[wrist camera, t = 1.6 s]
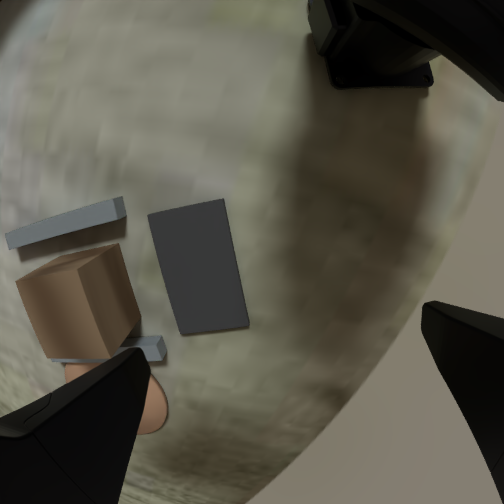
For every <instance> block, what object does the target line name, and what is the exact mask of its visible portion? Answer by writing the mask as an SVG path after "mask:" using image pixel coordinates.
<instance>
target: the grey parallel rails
mask: <svg viewBox="0 0 504 504" xmlns="http://www.w3.org/2000/svg"><path fill="white" fill-rule="evenodd" d="M125 216H126V212H125V207H124V203H123V198H122V196H121V197H117V198H114V199H110V200H107V201H103V202H100V203H96V204H93V205H89V206H86V207H83V208H80V209H76V210H73V211H70V212H67V213H64V214H60V215H57V216H54V217H51V218H48V219H45V220H42V221H39V222H36V223H34V224H31V225H28V226H25V227H22V228H19V229H17V230H14V231H11V232H9V233H6V234H5V237H6V241H7V244H8V248H9V250H11V249H14V248H17V247H20V246H24V245H27V244H30V243H34V242H37V241H40V240H44V239H47V238H51V237H54V236H58V235H61V234H65V233H69V232H72V231H76V230H80V229H83V228H87V227H91V226H95V225H99V224H103V223H106V222H110V221H114V220H118V219H121V218H123V217H125ZM131 347H140V348H141V349H142V350H143V352H144V354H145V356H146V359H147V361H162V360H163V358H164V356H165V354H166V352H167V349H166V347H165V344H164V341H163V338H162V336H151V337H138V338H125V340H124V341H123V342H122V344H121V345H120V347H119V348H118V349H117V351H116V352H115V353H114V355H113V356H112V357H114V356H116V355H117V354H119V353H121V352H123V351H124V350H126V349H128V348H131ZM51 360H52V362H73V363H104V362H105V361H107V360H109V359H53V358H51Z"/></svg>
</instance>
